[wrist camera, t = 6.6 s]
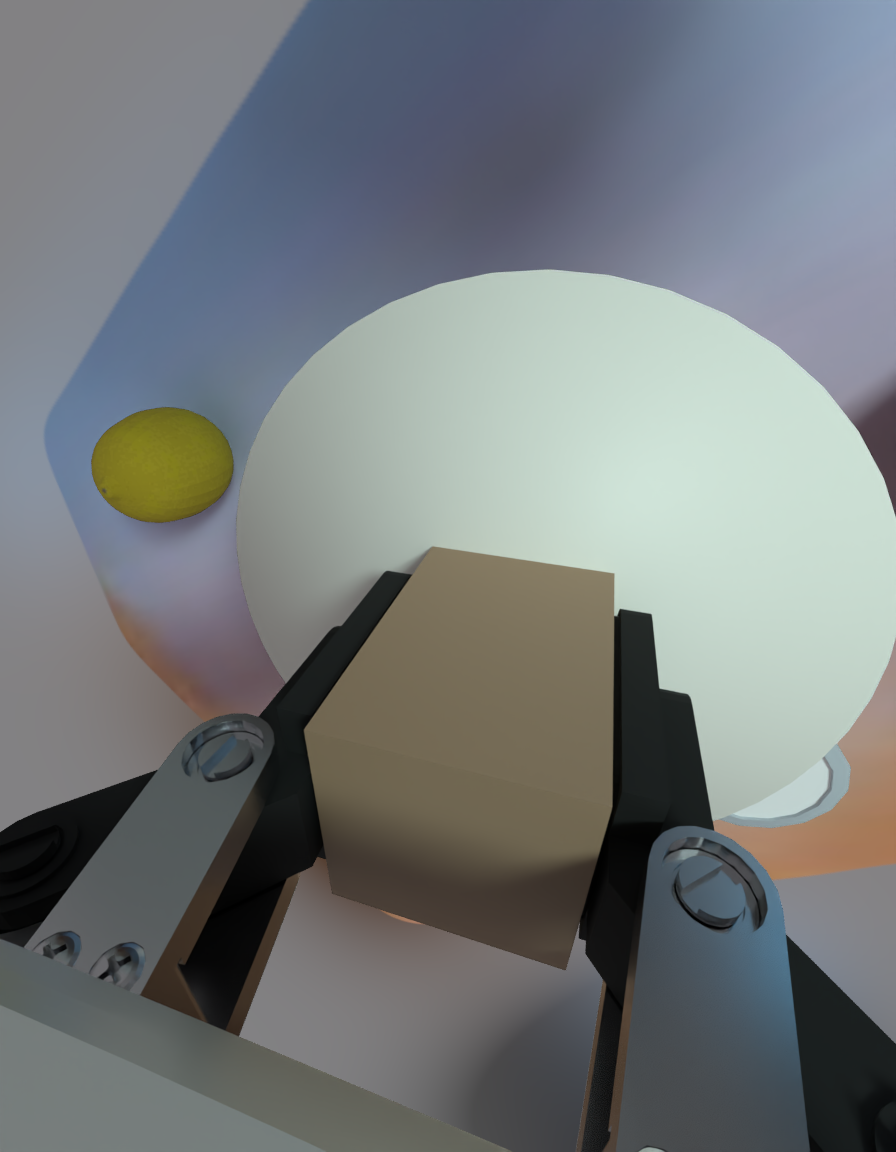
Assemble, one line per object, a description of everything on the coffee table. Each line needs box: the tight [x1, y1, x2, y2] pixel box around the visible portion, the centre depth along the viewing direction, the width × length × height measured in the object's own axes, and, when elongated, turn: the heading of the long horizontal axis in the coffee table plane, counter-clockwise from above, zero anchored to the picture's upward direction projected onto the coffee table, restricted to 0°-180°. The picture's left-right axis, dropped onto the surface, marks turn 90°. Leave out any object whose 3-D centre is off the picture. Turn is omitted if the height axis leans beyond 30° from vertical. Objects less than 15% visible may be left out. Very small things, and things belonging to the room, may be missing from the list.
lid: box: [236, 269, 896, 970], centre depth 9 cm, size 13×13×6 cm
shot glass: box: [720, 744, 851, 828], centre depth 25 cm, size 7×7×7 cm
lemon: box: [91, 407, 233, 523], centre depth 26 cm, size 6×6×8 cm
